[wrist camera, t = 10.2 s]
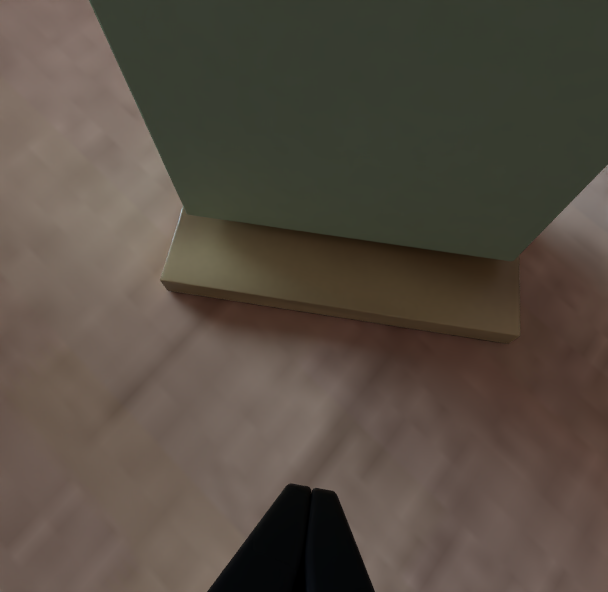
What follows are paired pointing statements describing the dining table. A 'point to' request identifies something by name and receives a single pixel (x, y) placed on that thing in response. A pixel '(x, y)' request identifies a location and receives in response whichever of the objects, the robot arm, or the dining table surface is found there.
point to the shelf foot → (345, 278)
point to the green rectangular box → (373, 112)
